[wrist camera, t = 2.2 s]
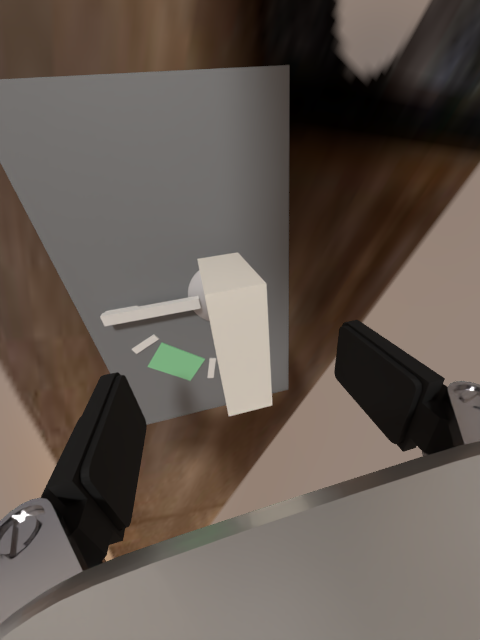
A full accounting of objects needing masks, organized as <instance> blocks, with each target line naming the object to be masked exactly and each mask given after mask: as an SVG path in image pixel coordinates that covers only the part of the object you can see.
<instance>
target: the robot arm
mask: <svg viewBox="0 0 480 640" xmlns="http://www.w3.org/2000/svg"><path fill="white" fill-rule="evenodd" d="M335 377H336V379H337V380H338V381H339V382H340V383H341V385H342V386H343V387H344V388H345V389H346V391H347V392H348V393H349V394H350V395H351V396H352V397H353V399H354V400H355V401H356V402H357V403H358V404H359V405H360V407H361V408H362V409H363V410H364V411H365V412H366V414H367V415H368V416H369V417H370V418H371V419H372V421H373V422H374V423H375V424H376V425H377V426H378V427H379V429H380V430H381V431H382V432H383V433H384V434H385V436H386V437H387V438H388V439H389V440H390V441H391V442H392V443H394V444H397V445H398V446H399V447H400V449H401V450H402V451H407V450H410V449H413V448H416V446H418V447H419V448H420V449H421V450H422V454H423V457H420V458H417V459H414V460H410V461H407V462H404V463H401V464H398V465H395V466H392V467H389V468H385V469H382V470H379V471H376V472H373V473H369V474H366V475H363V476H360V477H357V478H354V479H351V480H348V481H345V482H341V483H338V484H335V485H332V486H329V487H326V488H323V489H320V490H317V491H314V492H310V493H307V494H304V495H301V496H298V497H295V498H292V499H289V500H286V501H283V502H280V503H277V504H273V505H270V506H267V507H264V508H261V509H258V510H255V511H252V512H249V513H246V514H243V515H240V516H237V517H234V518H231V519H228V520H225V521H222V522H219V523H216V524H213V525H210V526H207V527H204V528H201V529H198V530H195V531H192V532H188V533H185V534H182V535H179V536H176V537H173V538H171V539H168V540H165V541H162V542H159V543H156V544H154V545H151V546H148V547H145V548H142V549H139V550H136V551H134V552H131V553H128V554H125V555H122V556H119V557H116V558H114V559H112V560H109V561H107V562H106V560H105V559H104V558H105V556H106V555H107V551H108V546H109V545H110V544H113V543H117V542H120V541H123V537H124V531H125V528H126V527H129V525H130V523H131V518H132V512H133V506H134V500H135V494H136V488H137V482H138V476H139V470H140V464H141V458H142V452H143V446H144V440H145V434H146V420H145V417H144V415H143V413H142V411H141V409H140V407H139V404H138V402H137V400H136V398H135V396H134V394H133V391H132V389H131V387H130V385H129V383H128V380H127V378H126V376H125V375H120V374H119V373H118V372H116V373H112V374H107V375H103V376H101V377H100V379H99V381H98V383H97V385H96V387H95V389H94V392H93V394H92V396H91V398H90V400H89V402H88V404H87V406H86V408H85V410H84V412H83V415H82V416H81V417H80V419H79V420H78V422H77V424H76V426H75V428H74V430H73V432H72V434H71V436H70V438H69V440H68V442H67V444H66V446H65V448H64V451H63V453H62V455H61V457H60V459H59V461H58V463H57V465H56V467H55V469H54V471H53V473H52V475H51V477H50V479H49V481H48V484H47V486H46V488H45V490H44V492H43V494H42V496H41V498H37V499H32V500H30V501H27V502H25V503H23V504H21V505H19V506H18V507H17V508H15V509H14V510H12V511H11V512H9V513H8V514H7V515H6V516H5V517H4V518H3V519H2V520H1V521H0V640H480V385H479V384H476V383H472V382H465V381H457V382H453V383H450V385H449V386H448V387H447V386H445V385H443V382H444V378H443V377H442V376H440V375H439V374H437V373H436V372H434V371H433V370H431V369H430V368H428V367H427V366H425V365H424V364H422V363H421V362H419V361H418V360H416V359H415V358H413V357H412V356H410V355H409V354H407V353H406V352H405V351H403V350H402V349H400V348H398V347H397V346H396V345H394V344H392V343H391V342H390V341H388V340H387V339H385V338H384V337H382V336H380V335H379V334H378V333H376V332H375V331H373V330H372V329H370V328H369V327H367V326H366V325H364V324H363V323H361V322H360V321H358V320H354V321H349V322H345V323H343V325H342V327H340V329H339V337H338V346H337V355H336V363H335Z"/></svg>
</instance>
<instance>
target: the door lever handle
mask: <svg viewBox="0 0 480 640" xmlns="http://www.w3.org/2000/svg"><path fill="white" fill-rule="evenodd" d="M197 260H198V265H199V270H200V275H201V280H202V285H203V290H204V295H205V300H206V306H207V311H208V316H209V321H210V326H211V331H212V336H213V341H214V346H215V351H216V356H217V361H218V366H219V371H220V376H221V381H222V386H223V391H224V396H225V400H226V405H227V410H228V415H229V416H233V415H237V414H241V413H245V412H249V411H252V410H256V409H260V408H264V407H268V406H272V387H271V366H270V346H269V325H268V305H267V284H266V282H265V281H264V280H263V279H262V278H261V277H260V276H259V275H258V274H257V273H256V272H255V270H254V269H253V268H252V267H251V266H250V265H249V264H248V263H247V262H246V261H245V260H244V259H243V257H242V256H241V255H240V254H239V253H238V252H237V253H231V254H224V255H218V256H212V257H206V258H199V259H197ZM200 308H201V307H200V302H199V297H198V296H194V297H188V298H183V299H177V300H172V301H166V302H161V303H155V304H150V305H144V306H139V307H133V308H128V309H122V310H116V311H111V312H105V313H102V314H101V316H100V318H101V320H102V322H103V324H104V326H110V325H115V324H120V323H126V322H131V321H136V320H142V319H147V318H152V317H158V316H163V315H168V314H174V313H179V312H184V311H190V310H195V309H200Z"/></svg>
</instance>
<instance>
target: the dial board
mask: <svg viewBox="0 0 480 640" xmlns="http://www.w3.org/2000/svg"><path fill="white" fill-rule="evenodd" d="M0 163H1V165H2V166H3V168H4V170H5V172H6V174H7V176H8V178H9V180H10V182H11V184H12V186H13V188H14V189H15V191H16V193H17V195H18V197H19V199H20V201H21V203H22V205H23V207H24V209H25V211H26V212H27V214H28V216H29V218H30V220H31V222H32V224H33V226H34V228H35V230H36V232H37V233H38V235H39V237H40V239H41V241H42V243H43V245H44V247H45V249H46V251H47V253H48V255H49V256H50V258H51V260H52V262H53V264H54V266H55V268H56V270H57V272H58V274H59V276H60V278H61V279H62V281H63V283H64V285H65V287H66V289H67V291H68V293H69V295H70V297H71V299H72V301H73V302H74V304H75V306H76V308H77V310H78V312H79V314H80V316H81V318H82V320H83V322H84V324H85V325H86V327H87V329H88V331H89V333H90V335H91V337H92V339H93V341H94V343H95V345H96V347H97V348H98V350H99V352H100V354H101V356H102V358H103V360H104V362H105V364H106V366H107V368H108V370H109V371H110V373H111V374H112V373H116V372H118V373H119V374H120V375H125V376H126V378H127V380H128V383H129V385H130V387H131V389H132V391H133V394H134V396H135V398H136V400H137V402H138V404H139V407H140V409H141V411H142V413H143V415H144V417H145V420H146V425H147V424H151V423H155V422H159V421H163V420H167V419H171V418H175V417H179V416H183V415H187V414H191V413H195V412H199V411H203V410H207V409H211V408H216V407H220V406H224V405H226V400H225V396H224V391H223V386H222V381H221V376H220V371H219V366H218V361H217V356H216V351H215V346H214V341H213V336H212V331H211V326H210V321H209V316H208V311H207V306H206V300H205V295H204V290H203V285H202V280H201V275H200V270H199V265H198V260H197V259H199V258H206V257H212V256H218V255H224V254H231V253H237V252H238V253H239V254H240V255H241V256H242V257H243V259H244V260H245V261H246V262H247V263H248V264H249V265H250V266H251V267H252V268H253V269H254V270H255V272H256V273H257V274H258V275H259V276H260V277H261V278H262V279H263V280H264V281H265V282H266V284H267V305H268V325H269V346H270V366H271V387H272V393H276V392H280V391H284V390H288V344H289V65H281V66H261V67H241V68H221V69H201V70H181V71H160V72H140V73H120V74H100V75H80V76H60V77H40V78H20V79H0ZM194 296H198V297H199V302H200V307H201V308H200V309H195V310H190V311H184V312H179V313H174V314H168V315H163V316H158V317H152V318H147V319H142V320H136V321H131V322H126V323H120V324H115V325H110V326H104V324H103V322H102V320H101V318H100V316H101V314H102V313H105V312H111V311H116V310H122V309H128V308H133V307H139V306H144V305H150V304H155V303H161V302H166V301H172V300H177V299H183V298H188V297H194Z"/></svg>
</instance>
